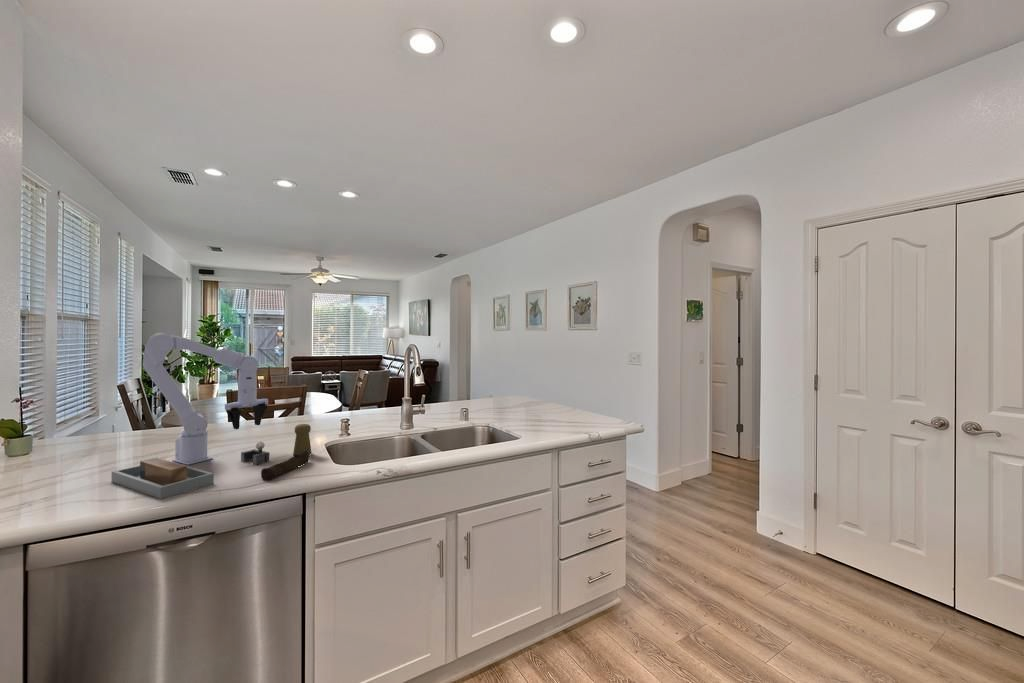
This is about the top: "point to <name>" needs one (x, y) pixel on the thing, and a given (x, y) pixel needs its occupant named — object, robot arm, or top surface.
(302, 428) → the olive bottle
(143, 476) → the strut
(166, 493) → the tray
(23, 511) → the top surface
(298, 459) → the hand tool
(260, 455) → the stud bracket
